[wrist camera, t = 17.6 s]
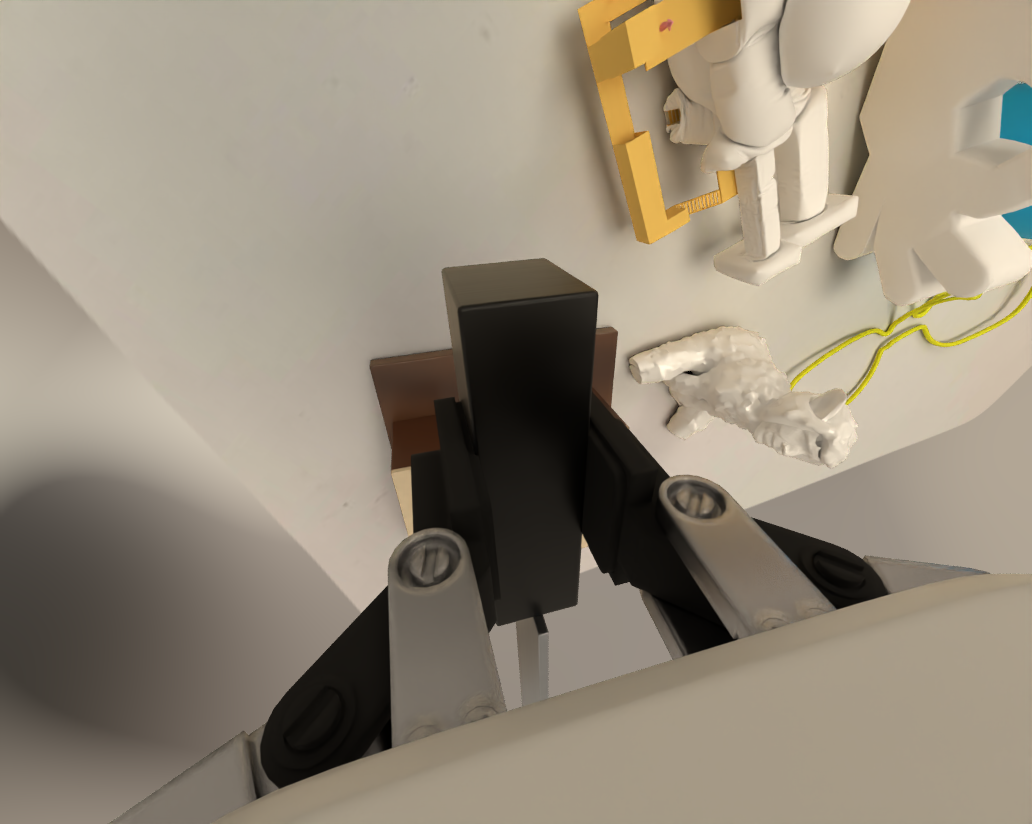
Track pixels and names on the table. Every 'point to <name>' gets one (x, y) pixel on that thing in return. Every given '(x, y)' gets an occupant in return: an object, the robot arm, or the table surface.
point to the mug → (1023, 121)
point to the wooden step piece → (405, 442)
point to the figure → (738, 111)
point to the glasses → (915, 314)
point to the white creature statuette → (747, 395)
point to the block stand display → (432, 376)
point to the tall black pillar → (528, 431)
